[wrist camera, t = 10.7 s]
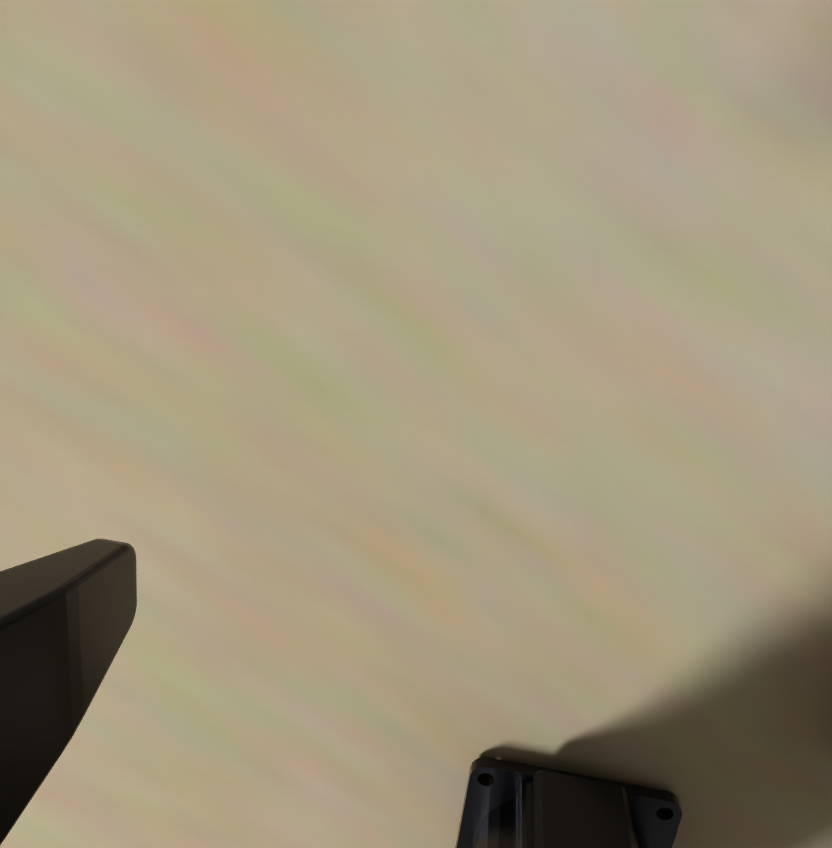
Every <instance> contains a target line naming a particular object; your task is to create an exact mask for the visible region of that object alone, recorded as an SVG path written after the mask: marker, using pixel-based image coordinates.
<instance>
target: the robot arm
mask: <svg viewBox="0 0 832 848" xmlns="http://www.w3.org/2000/svg"><path fill="white" fill-rule="evenodd" d="M136 606H137V587H136V554H135V550H134V548H133V547H132V546H131V545H130V544H128V543H124V542H118V541H112V540H107V539H95V540H92V541H89V542H86V543H83V544H80V545H77V546H74V547H71V548H68V549H65V550H63V551H60V552H57V553H54V554H51V555H48V556H45V557H42V558H39V559H36V560H33V561H30V562H27V563H24V564H21V565H18V566H15V567H12V568H9V569H6V570H3V571H0V845H1V844H2V842H3V841H4V839H5V838H6V836H7V835H8V833H9V832H10V830H11V829H12V827H13V826H14V824H15V823H16V821H17V820H18V818H19V817H20V815H21V814H22V812H23V811H24V809H25V808H26V806H27V805H28V803H29V802H30V800H31V799H32V797H33V796H34V794H35V793H36V791H37V790H38V788H39V787H40V785H41V784H42V782H43V781H44V779H45V778H46V776H47V775H48V773H49V772H50V770H51V769H52V767H53V766H54V764H55V763H56V761H57V760H58V758H59V757H60V755H61V754H62V752H63V751H64V749H65V747H66V746H67V744H68V743H69V741H70V740H71V738H72V736H73V735H74V733H75V731H76V729H77V728H78V726H79V724H80V722H81V720H82V719H83V717H84V715H85V713H86V711H87V709H88V707H89V705H90V703H91V702H92V700H93V698H94V696H95V694H96V692H97V690H98V688H99V686H100V684H101V682H102V680H103V679H104V677H105V675H106V673H107V671H108V669H109V667H110V665H111V663H112V661H113V659H114V657H115V656H116V654H117V652H118V650H119V648H120V646H121V644H122V642H123V640H124V638H125V636H126V634H127V632H128V631H129V629H130V627H131V625H132V622H133V619H134V616H135V612H136ZM482 773H488V774H490V776H484V775H481V774H482ZM662 807H667V808H668V809H665V810H661V809H660V808H662ZM681 817H682V811H681V806H680V802H679V800H678V798H677V796H675V795H674V794H673V793H671V792H668V791H664V790H658V789H653V788H648V787H642V786H637V785H632V784H627V783H621V782H616V781H611V780H605V779H600V778H595V777H589V776H584V775H579V774H573V773H568V772H563V771H558V770H552V769H547V768H542V767H536V766H531V765H526V764H520V763H515V762H510V761H504V760H499V759H494V758H488V757H482V758H478V759H476V760H475V761H474V762H473V763H472V765H471V767H470V772H469V778H468V783H467V788H466V794H465V799H464V805H463V810H462V815H461V821H460V826H459V832H458V837H457V842H456V848H672V845H673V842H674V839H675V836H676V833H677V830H678V826H679V823H680V820H681Z"/></svg>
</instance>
